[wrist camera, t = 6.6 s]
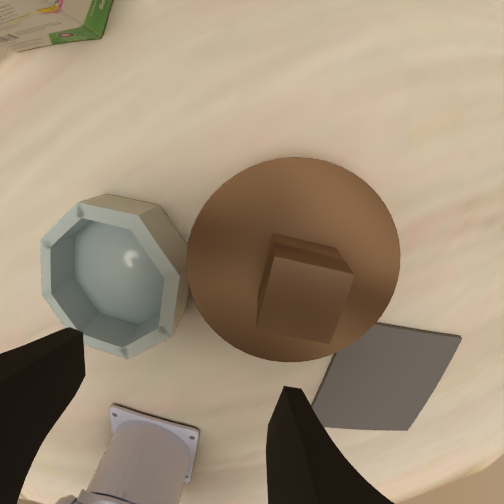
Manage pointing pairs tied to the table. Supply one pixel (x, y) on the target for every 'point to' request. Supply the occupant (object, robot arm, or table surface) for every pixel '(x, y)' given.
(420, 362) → the mat
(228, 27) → the table surface
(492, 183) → the table surface
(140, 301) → the bowl slate
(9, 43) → the ink box
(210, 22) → the table surface
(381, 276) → the lid
